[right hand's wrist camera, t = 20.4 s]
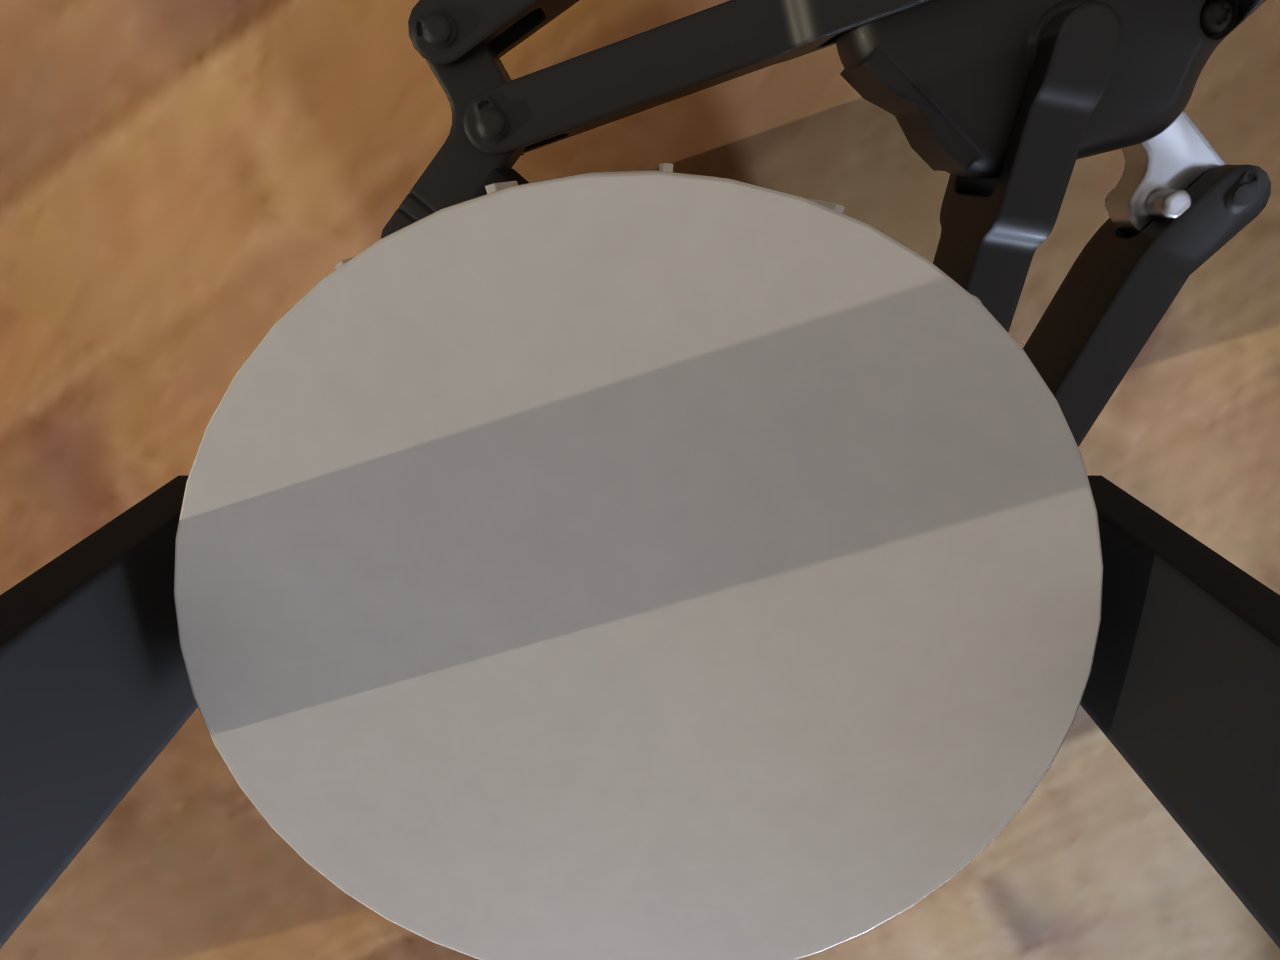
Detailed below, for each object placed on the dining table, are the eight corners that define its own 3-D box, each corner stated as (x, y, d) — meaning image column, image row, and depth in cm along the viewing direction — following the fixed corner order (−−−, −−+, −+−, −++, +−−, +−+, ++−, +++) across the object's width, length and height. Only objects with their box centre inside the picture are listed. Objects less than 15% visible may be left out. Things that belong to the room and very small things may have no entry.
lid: (455, 933, 15) (423, 1063, 13) (94, 352, 11) (-39, 397, 9) (1082, 754, 13) (1166, 867, 11) (917, 17, 10) (996, -26, 7)
